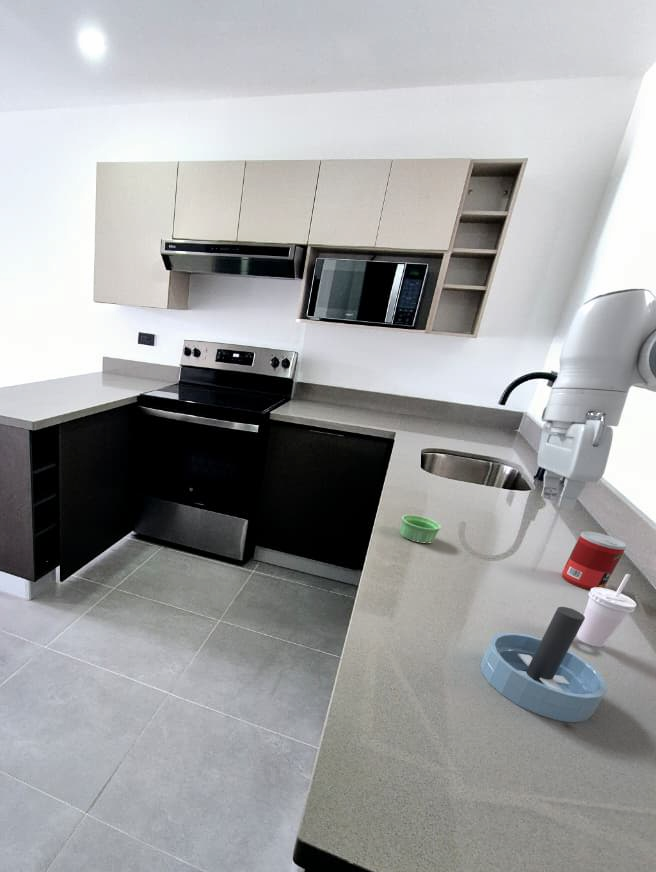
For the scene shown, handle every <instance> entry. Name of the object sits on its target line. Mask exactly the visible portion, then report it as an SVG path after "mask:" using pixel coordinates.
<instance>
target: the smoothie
mask: <svg viewBox="0 0 656 872" xmlns="http://www.w3.org/2000/svg"><path fill="white" fill-rule="evenodd" d="M630 577H631V574H630V573H626V574H625V575H624V577H623V579H622V581H621V582H620V584H619V587H618V588H617V590H613V589H610V588H605V587H604V588H599V587H594V588H592V589H591V590H589V592H588V594H587V595H588V596H589V597H588V600H587V603H586V606H585V610H584V612H583V615H584V617H585V619H584V621H583V623H582V625H581V627H580V629H579V631H578V633H577V634H576V638H577V639H578V640H580V641H581V642H583V643H584V644H587V645H588V646H591V647H595V648H602V647H603V646H604V645H605V644H606V643H607V641H608V640H609V639H610V637H611V636H612V635H613V634H614V633H615V632H616V630H617V629H618V628H619V627H620V625H621V624H622V623H623V622H624V620H625V619H626V618H627V616H629V614H630V613H631V612H634V611H636V610H635V609H636V608H637V603H636V601H634V600H633V599H632V598H631V597H629V596H627V595H625V594H623V593H622V591H623V590H624V588H625V586H626V585H627V583H628V581H629V579H630Z"/></svg>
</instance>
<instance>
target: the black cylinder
mask: <svg viewBox="0 0 656 872" xmlns="http://www.w3.org/2000/svg"><path fill="white" fill-rule="evenodd" d="M584 619H585V617H584V614H583V613H581V612H579V611H577V610H576V609H573V608H570V607H567V606H558V607H557V609H556V610H555V612H554V614H553V616H552V619H551V620H550V622H549V624H548V626H547V628H546V630H545V632H544V634H543V636H542V638H541V639H542V640H541V642H540V644H539V646H538V648H537V650H536V652H535V654H534V656H533V658H532V657H531V656H530V655H525V654H518V656H519V657H520V658H521V659H522V660H523V662H524V663H525V664H526V665H527V666H528V668H527V670H522V671H519V670H518V671H519V672H521V673H523V674H524V675H526V676H528V677H529V678H531V679H533V680H535V681H537V682H540V683H542V684H544V685H546V686H549V687H552V688H555V689H558V690H561V691H563V690H562V689H561V688H560V687H559V686H558V684H561V685H569V686H570V683H569V682H568V681H567V680H566V679H565V678H564V677H563V676H559V675H555V674H556V672H557V670H558V668H559V666H560V664H561V663H562V661H563V659H564V657H565V655H566V653H567V651H569V649H570V648H571V645H572V643H573V642H574V640H575V638H576V637H577V633H578V631H579V629H580V627H581V625H582V623H583V621H584Z"/></svg>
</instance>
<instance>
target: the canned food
mask: <svg viewBox="0 0 656 872" xmlns="http://www.w3.org/2000/svg"><path fill="white" fill-rule="evenodd" d="M626 547H627V544H626V543H625V542H623V541H622V540H620V539H618V538H615V537H614V536H610V535H608V534H604V533H601V532H596V531H587V530H585V531H582V532H581V533H580V534H579V537H578V539H577V541H576V543H575V545H574V546H573V549H572V550H571V553H570V555H569V557H568V559H567V561H566V564H565V566H564V568H563V570H562V571H561V577H562V579H564V580H565V581H566V582H567V583H569V584H571V585H573V586H576V587H578V588H581V589H584V590H588V591H590V590H591V589H592V588H594V587H599V588H605V587H606V585H607V583H608V582H609V580H610V578H611V576H612V574H613V572H614V571H615V569H616V567H617V565H618V563H619V562H620V560H621V558H622V556H623V554H624V552H625V550H626Z"/></svg>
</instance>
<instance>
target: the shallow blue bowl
mask: <svg viewBox="0 0 656 872" xmlns="http://www.w3.org/2000/svg"><path fill="white" fill-rule="evenodd" d="M541 640H542V638H540V637H536V636H532V635H530V634H525V633H519V632H500V633H497V634H495V635H493V636H492V637H491V639H490V641H489V643H488V646H487V648H486V649H485V652H484V654H483V657H482V659H481V661H480V663H479V667H480V671H481V674H482V676H483V677H484V678H485V680H486V681H487V683H488V684H489V685H490V686H491V687H492V688H494V690H496V691H497V692H498V693H499V694H500V695H501V696H503V697H505V699H508V700H509V701H511V702H512V703H514V704H515V705H517V706H519V707H521V708H523V709H525V710H526V711H529V712H531V713H533V714H536V715H539V716H542V717H545V718H548V719H551V720H553V721H559V722H566V723H582V722H586V721H587V720H588V719H590V718H592V717H593V715H594V713H595V711H596V710H597V709H598V707H599V705H600V703H602V702H601V701H602V700H603V698H604V696H605V695H606V693H607V686H608V685H607V682H606V681H605V679H604V677H603V676H602V674H601V673H600V672H599V671H598V670H597V669H596V668H595V667H594V666H592V664H590V663H589V662H587V661H586V660H585V659H583V658H582V657H580V656H579V655H577V654H576V653H575V652H572V651H570V650H568V651H567V653H566V655H565V657H564V659H563V661H562V663H561V664H560V666H559V668H558V670H557V672H556V674H555V675H559V676H563V677H564V678H565V679H566V680H567V681H568V682H569V683H570V686H569V685H561V684H558V686H559V687H560V688H561V689H562V690H563V691H561V690H558V689H555V688H552V687H549V686H546V685H544V684H542V683H540V682H537V681H535V680H533V679H531V678H529V677H528V676H526V675H524V674H523V673H521V672H519V671H522V670H527V668H528V666H527V665H526V664H525V663H524V662H523V660H522V659H521V658H520V657H519V656H518V654H525V655H530V656H531V657H532V658H533V656H534V654H535V652H536V650H537V648H538V646H539V644H540V642H541ZM518 670H519V671H518Z"/></svg>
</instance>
